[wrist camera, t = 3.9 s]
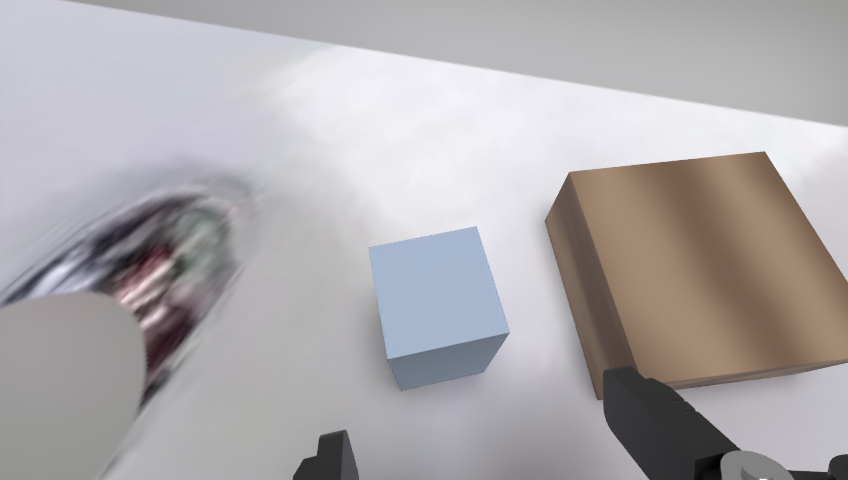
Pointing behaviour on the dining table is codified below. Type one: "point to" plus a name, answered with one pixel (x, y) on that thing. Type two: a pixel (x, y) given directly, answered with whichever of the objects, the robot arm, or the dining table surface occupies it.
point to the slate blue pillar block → (437, 307)
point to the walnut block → (697, 273)
